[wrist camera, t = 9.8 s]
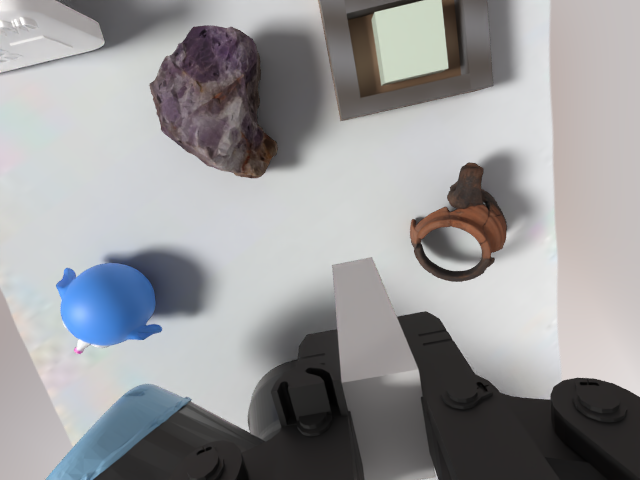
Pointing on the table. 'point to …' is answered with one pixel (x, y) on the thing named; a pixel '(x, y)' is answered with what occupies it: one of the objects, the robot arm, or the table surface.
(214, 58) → the rock
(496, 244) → the pottery mug
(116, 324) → the blue rounded piece
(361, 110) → the keypad
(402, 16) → the sage key
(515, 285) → the table surface
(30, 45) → the cable organizer
